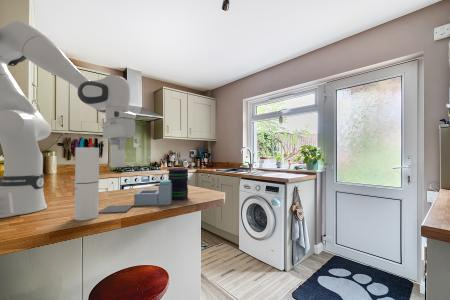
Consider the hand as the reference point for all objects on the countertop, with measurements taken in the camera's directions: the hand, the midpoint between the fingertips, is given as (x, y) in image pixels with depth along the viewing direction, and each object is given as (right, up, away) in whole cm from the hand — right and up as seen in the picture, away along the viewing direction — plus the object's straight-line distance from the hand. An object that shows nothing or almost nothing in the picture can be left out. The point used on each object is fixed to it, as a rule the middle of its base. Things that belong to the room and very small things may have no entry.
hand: (117, 149), depth 84 cm
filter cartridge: (0, -7, 0) cm, 7 cm away
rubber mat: (0, -25, 0) cm, 25 cm away
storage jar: (+20, -25, +21) cm, 38 cm away
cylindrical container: (-6, -25, -10) cm, 27 cm away
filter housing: (+11, -25, +12) cm, 30 cm away
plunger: (+17, -22, +10) cm, 29 cm away
